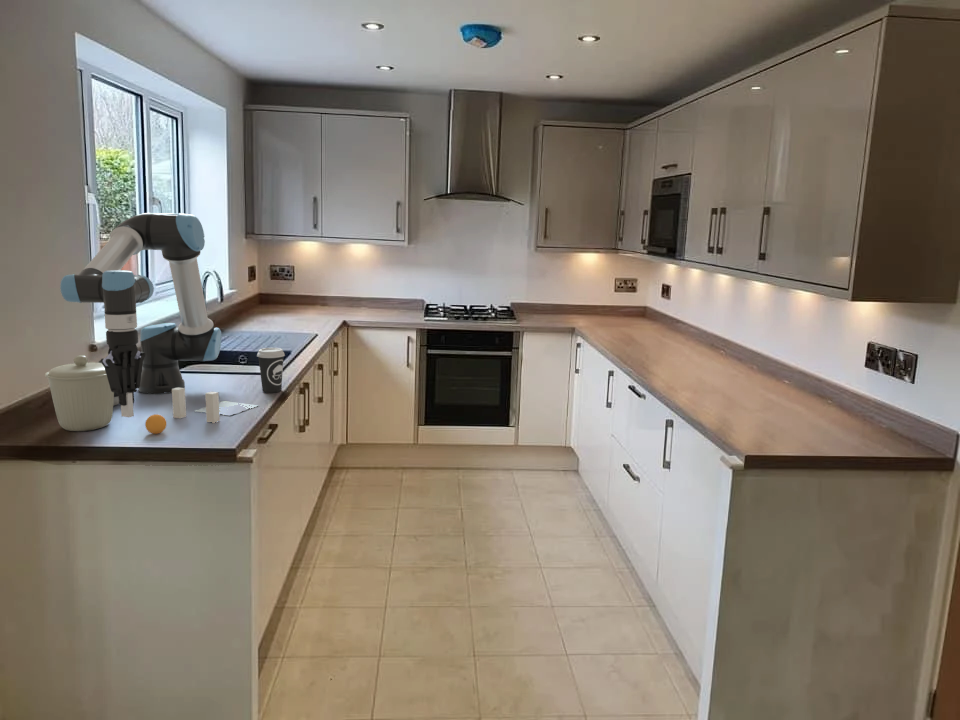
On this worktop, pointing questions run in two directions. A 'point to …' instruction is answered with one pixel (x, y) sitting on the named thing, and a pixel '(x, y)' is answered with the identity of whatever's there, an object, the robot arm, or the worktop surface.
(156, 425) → the ball
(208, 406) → the post
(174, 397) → the post
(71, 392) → the canister
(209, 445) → the worktop surface
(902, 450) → the worktop surface
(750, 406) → the worktop surface
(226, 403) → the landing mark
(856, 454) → the worktop surface
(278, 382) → the coffee cup
